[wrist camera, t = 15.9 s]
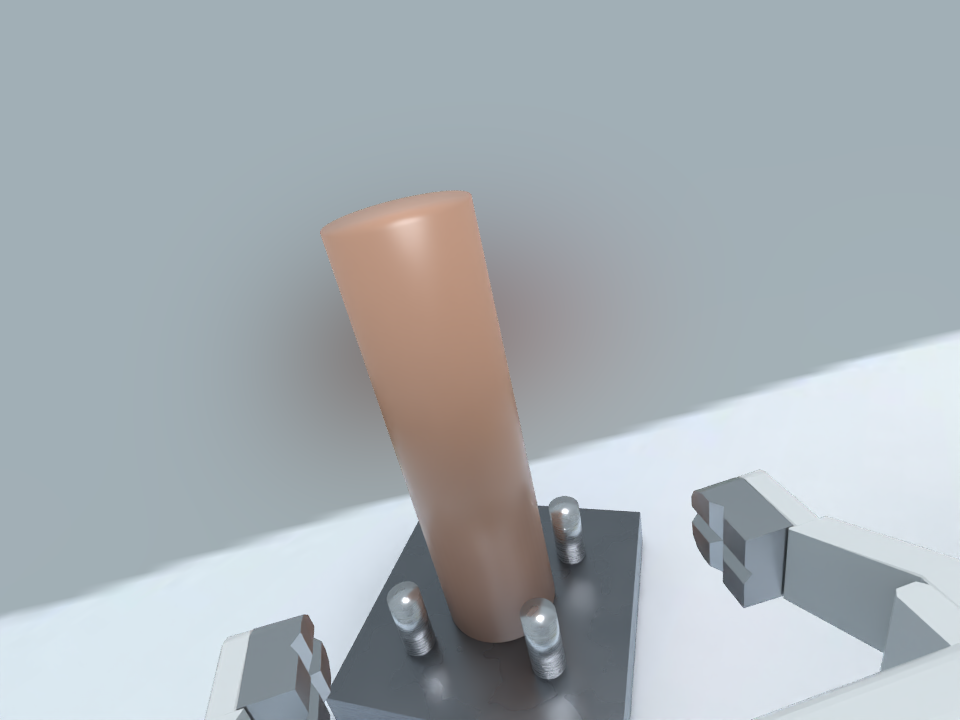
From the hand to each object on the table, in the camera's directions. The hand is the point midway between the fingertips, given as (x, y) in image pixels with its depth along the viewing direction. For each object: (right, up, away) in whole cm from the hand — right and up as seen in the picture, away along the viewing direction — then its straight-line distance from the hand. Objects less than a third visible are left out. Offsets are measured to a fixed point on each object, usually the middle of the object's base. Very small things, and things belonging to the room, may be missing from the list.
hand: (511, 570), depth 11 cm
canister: (0, -7, +15) cm, 16 cm away
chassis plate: (+1, -8, +15) cm, 18 cm away
